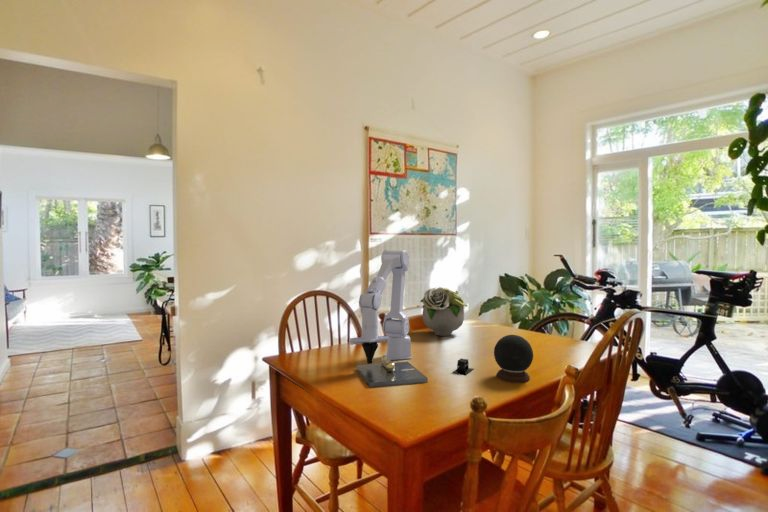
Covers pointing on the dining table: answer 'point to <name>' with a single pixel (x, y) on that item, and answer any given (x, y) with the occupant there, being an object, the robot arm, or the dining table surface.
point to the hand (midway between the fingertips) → (369, 363)
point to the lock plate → (391, 374)
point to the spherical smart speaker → (513, 358)
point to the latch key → (387, 364)
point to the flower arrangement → (443, 310)
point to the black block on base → (463, 367)
